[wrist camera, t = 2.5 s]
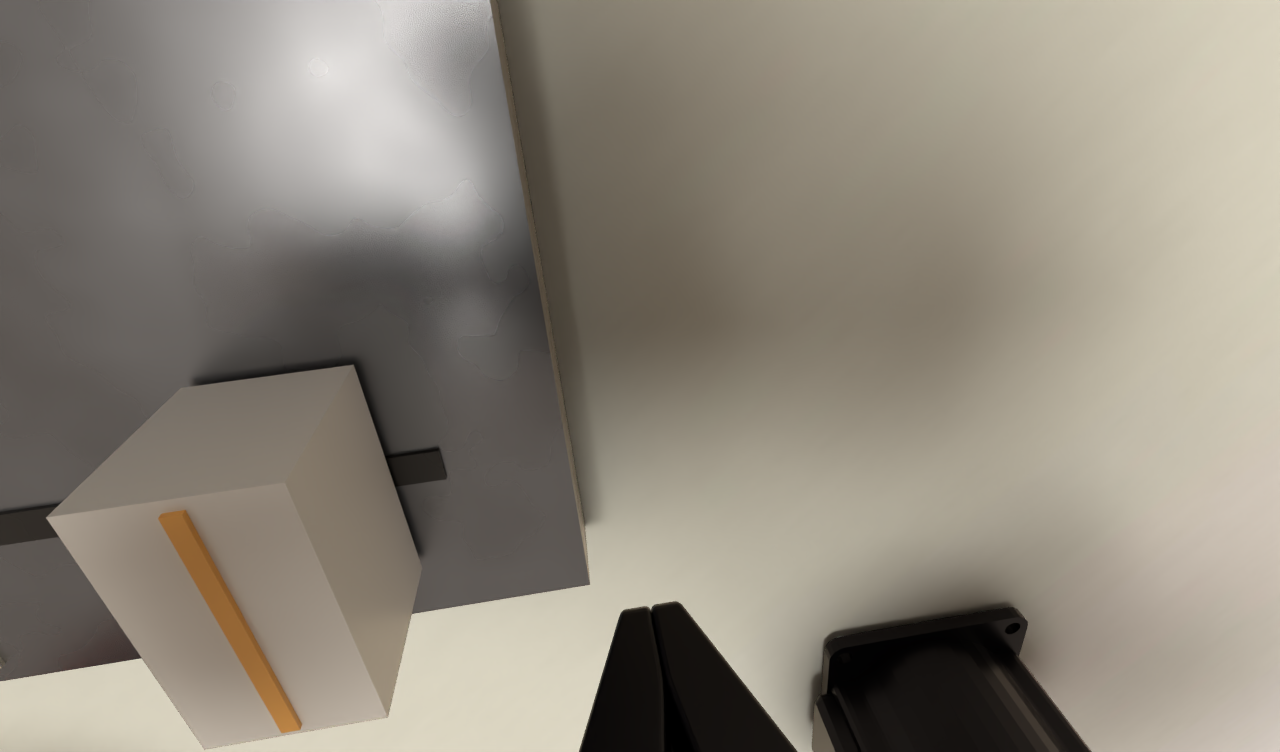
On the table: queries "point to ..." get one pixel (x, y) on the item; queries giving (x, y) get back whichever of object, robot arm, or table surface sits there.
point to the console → (273, 273)
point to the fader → (254, 554)
